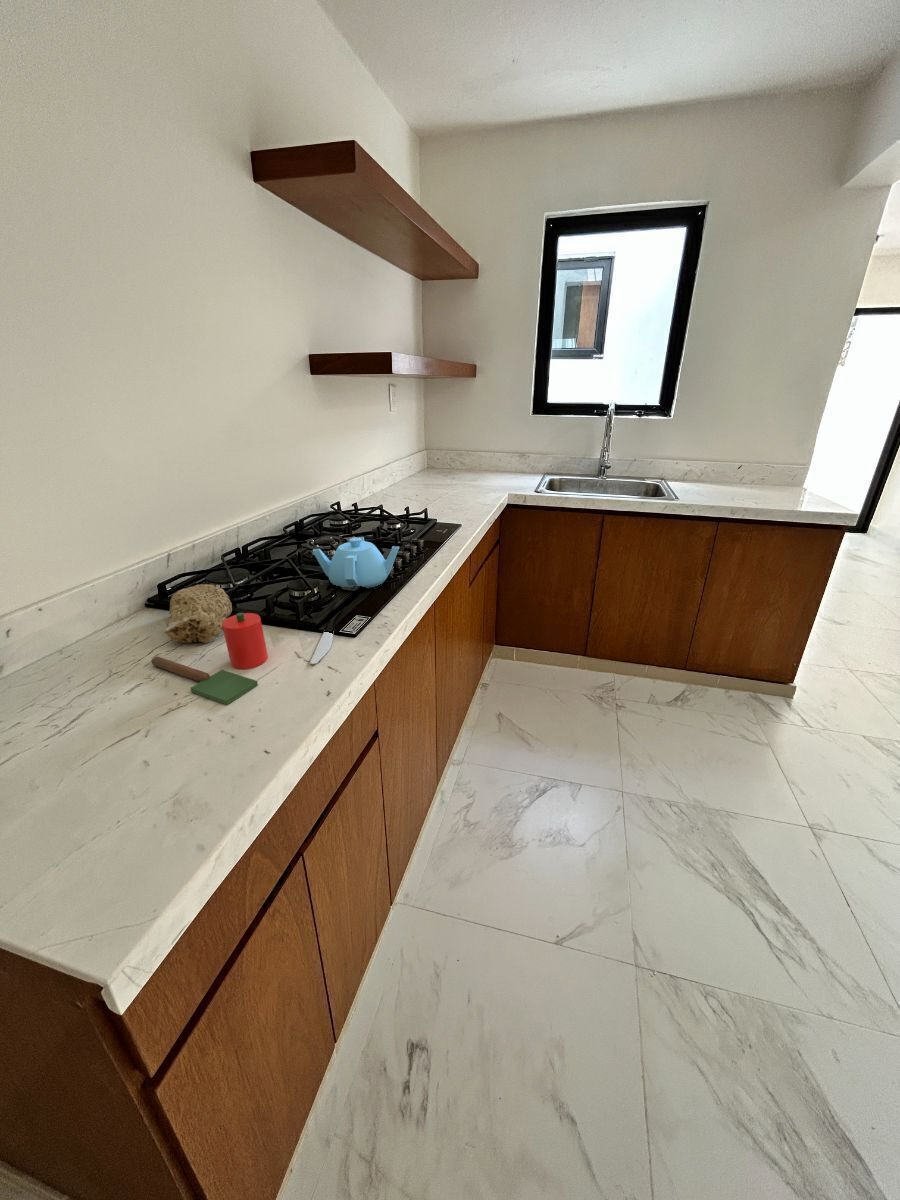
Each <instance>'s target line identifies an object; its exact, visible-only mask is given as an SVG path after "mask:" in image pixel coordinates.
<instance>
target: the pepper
mask: <svg viewBox="0 0 900 1200" xmlns="http://www.w3.org/2000/svg"><path fill="white" fill-rule="evenodd" d="M222 627H223V628H222V631H223V635H224V640H225V644H226V649H227V652H228V658H229V662H230V665H231V667H232V668H234V669H237V670H249V669H253V668H257V667H259V666H261V665H263V664H265V662H267V660H268V658H269V656H268V655H269V654H268V650H267V645H266V639H265V635H264V630H263V624H262V619H261V616H260V615H259V614H258V613H254V612H253V613H252V612H238V613H236V614H234V615H231V616H228V617H227V618H226V619H225V620H224V621H223V622H222Z"/></svg>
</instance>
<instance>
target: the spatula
mask: <svg viewBox="0 0 900 1200" xmlns="http://www.w3.org/2000/svg"><path fill="white" fill-rule="evenodd" d="M150 662H151V664H152V666H154V667H156V668H160V669H163V670H164V671H165V670H166V671H168V672H171V673H174V674H177V675H180V676H183V677H186V678H188V679H191V680H194V681H196V682H198V683H196V684H195V685H193V686H191V687H190V688H189V689H190V693H192V694H196V695H198V696H201V697H203V698H205V699H209V700H211V701H213V702H214V701H215V702H217V703H219V704H222V705H225V706H229V704H231V703H233V702H234V701H236V700H238V699H239V698H241V697H242V696H243V695H245V694H246V693H248V692H250V691H251V690H253V689H254V688H255V687H257V686H258V685H259V684H258V681H257V680H256V679H252V678H250V677H246V676H243V675H239V674H237V673H234V672H230V671H228V670H224V669H221V670H219V671H217V672H215V673H214V674H212V675H210V674H209V673H208V672H205V671H202V670H199V669H196V668H193V667H191V666H187V665H185V664H182V663H178V662H176V661H173V660H169V659H166V658H165V657H164V658H163V657H161V656H154V657H152V659H151V661H150Z"/></svg>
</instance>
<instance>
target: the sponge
mask: <svg viewBox="0 0 900 1200" xmlns="http://www.w3.org/2000/svg"><path fill="white" fill-rule="evenodd" d="M232 605H233V604H232V601H231V600H230V597H229V595H228V594H227V593H226V591H225V590H224V589H223V588H222V587H220V586H218V585H214V584H207V583H206V584H205V583H203V584H201V583H200V584H196V585H194V586H189V587H185V588H182V589H179V590H177V591H175V593H173V595H171V598H170V601H169V613H170V617H171V619H170V620H169V622H168V623H167V627H166V628H164V629H165V630H164V634H165V636H167V637H168V638H169V639H173V641H174V642H176V643H190V644H191V643H193V642H194V643H197V642H201V643H202V644H208V643H209V642H211V641H213V640H214V639H215V638H216V637H217V636H218V635H219V634H220V633H222V631H223V627H222V622H223V621H224V620H225V619H227V618H229V617H230V615H231V614H232V611H233V608H232V607H233V606H232Z"/></svg>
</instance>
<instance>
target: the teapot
mask: <svg viewBox="0 0 900 1200" xmlns="http://www.w3.org/2000/svg"><path fill="white" fill-rule="evenodd" d="M399 549H400V546H397V545H396V546H395V545H393V546H392V547H391V550H390V552H389V553H388V556H387V558H386V559H385V557H384V556H383V554H382V553H381V552H380V550H379V549H378V548H377V546H376V545H375V544H374V543H372V542H369V541H365V537H364V536H359V537H351V538H349V539H348V542H345V543H342V544H340V545H339V546H338V547H337V548H336V549H335V552H334V553H333V555H332V557H331V559H329V558H328V556H327V555H326V554H325V553H324V552H323V551H322V550H321V548H314V549H312V554H313V555H314V556H315V558H316V560H317V562H318V564H319V566H320V568H321V569H322V571H323V573H324V574H325V576H326V577H328V580H329V582H330V583H331V585H333V586H334V585H336V586H340V587H353V586H362V587H366V588H369V587H375V586H378V585H380V584H381V585H383V584H384V582H385V581H386V580H387V579H388V577H389V575H390V573H391V571H392V568H393V565H394V563H395V560H396V557H397V555H398V552H399ZM381 585H380V586H381Z"/></svg>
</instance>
